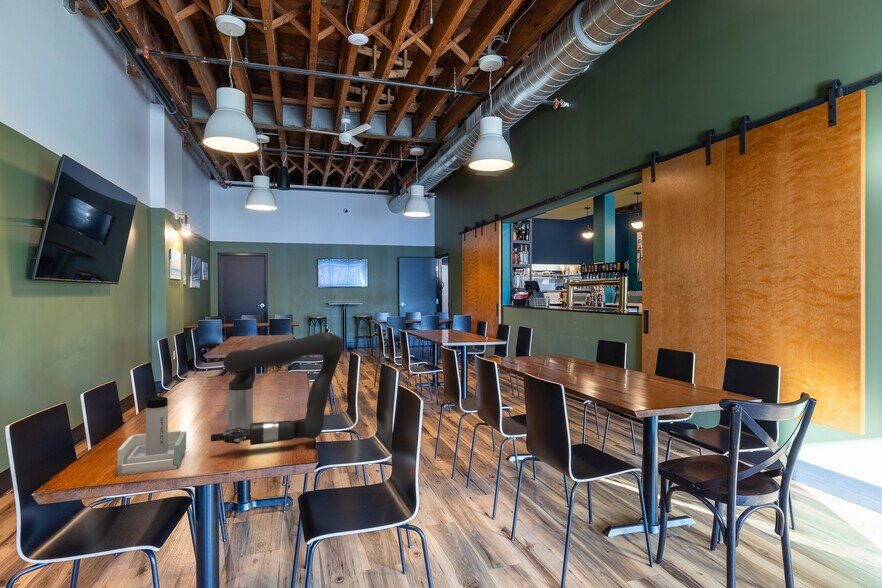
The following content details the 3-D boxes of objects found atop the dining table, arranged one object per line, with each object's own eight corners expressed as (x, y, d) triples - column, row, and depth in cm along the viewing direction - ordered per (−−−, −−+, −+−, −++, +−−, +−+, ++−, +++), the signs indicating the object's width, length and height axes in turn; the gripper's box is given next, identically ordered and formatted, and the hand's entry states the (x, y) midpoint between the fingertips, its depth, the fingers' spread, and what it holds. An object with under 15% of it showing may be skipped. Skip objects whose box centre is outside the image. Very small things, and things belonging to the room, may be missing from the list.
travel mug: (146, 455, 157) (147, 395, 157) (169, 452, 159) (169, 393, 159) (142, 461, 151) (142, 399, 151) (165, 458, 153) (165, 397, 153)
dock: (183, 452, 166) (184, 430, 166) (176, 468, 150) (176, 443, 150) (130, 458, 160) (131, 435, 160) (117, 475, 144) (117, 449, 144)
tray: (186, 448, 166) (186, 431, 166) (179, 464, 150) (179, 445, 150) (138, 453, 160) (138, 435, 160) (125, 470, 145) (125, 450, 145)
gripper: (264, 417, 174) (212, 422, 168) (264, 426, 162) (209, 432, 155) (264, 438, 174) (212, 443, 167) (264, 448, 162) (208, 454, 155)
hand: (210, 437), depth 161 cm, fingers closed
